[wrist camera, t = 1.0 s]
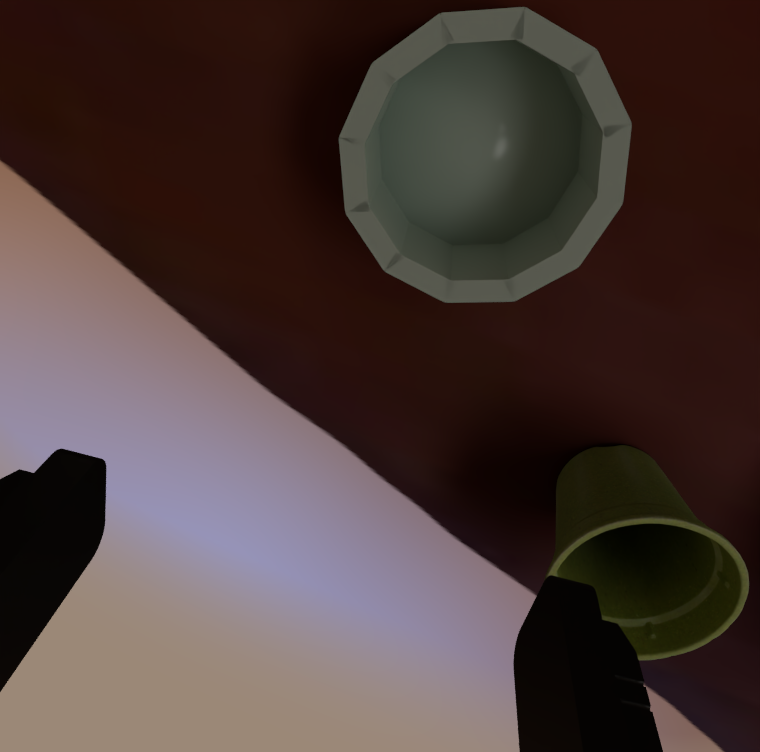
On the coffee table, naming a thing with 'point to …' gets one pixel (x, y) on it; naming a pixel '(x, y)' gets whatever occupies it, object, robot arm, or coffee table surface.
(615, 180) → the bowl
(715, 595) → the plant pot
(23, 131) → the coffee table surface
